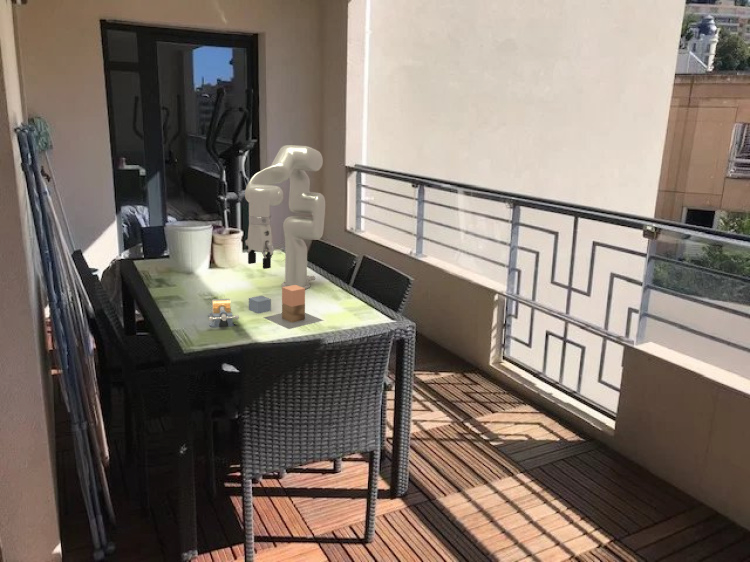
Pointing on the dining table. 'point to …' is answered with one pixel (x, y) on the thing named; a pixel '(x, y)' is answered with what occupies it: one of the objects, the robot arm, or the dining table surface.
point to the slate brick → (259, 304)
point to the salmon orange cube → (293, 295)
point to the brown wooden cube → (293, 312)
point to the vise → (221, 312)
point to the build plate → (289, 325)
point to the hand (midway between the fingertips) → (259, 265)
